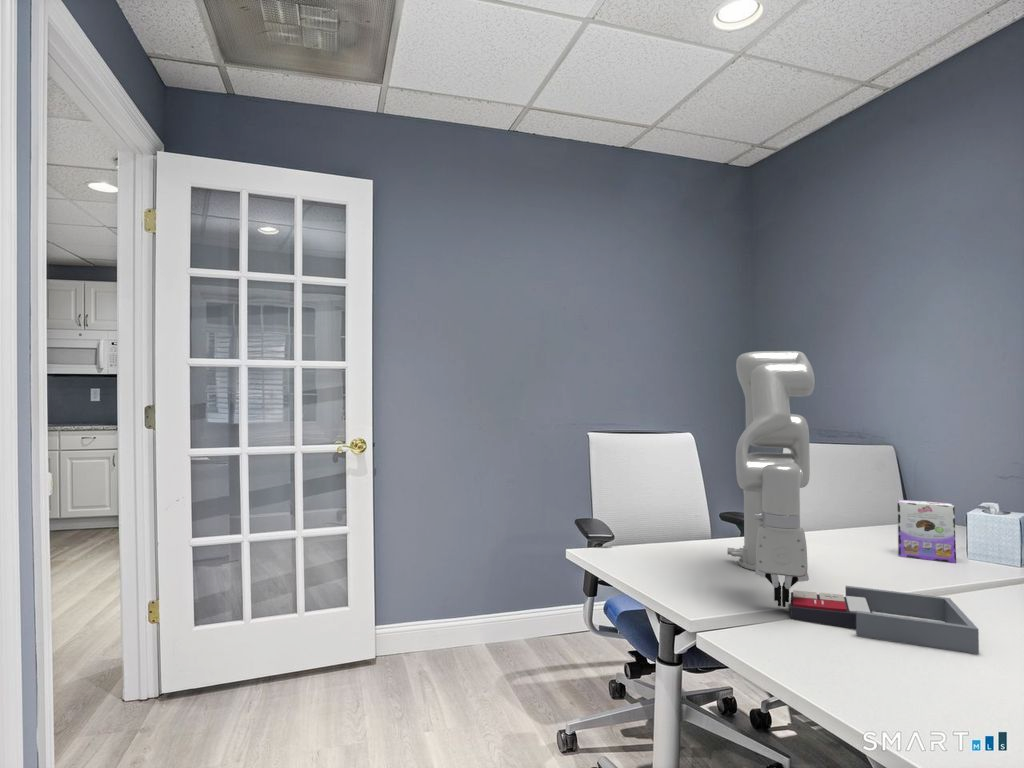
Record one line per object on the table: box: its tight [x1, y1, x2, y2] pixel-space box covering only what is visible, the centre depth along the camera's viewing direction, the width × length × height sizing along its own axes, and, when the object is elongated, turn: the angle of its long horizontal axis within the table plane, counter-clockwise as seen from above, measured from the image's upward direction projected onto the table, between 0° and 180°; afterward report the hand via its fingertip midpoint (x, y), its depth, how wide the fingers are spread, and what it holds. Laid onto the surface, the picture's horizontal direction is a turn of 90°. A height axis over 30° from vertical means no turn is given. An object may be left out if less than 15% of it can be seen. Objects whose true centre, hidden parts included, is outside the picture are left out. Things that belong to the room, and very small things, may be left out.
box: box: [844, 585, 980, 655], centre depth 117 cm, size 19×18×4 cm
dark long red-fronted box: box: [789, 590, 873, 630], centre depth 123 cm, size 11×4×15 cm
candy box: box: [896, 499, 957, 564], centre depth 170 cm, size 14×6×16 cm, turn 58°
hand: (781, 604), depth 126 cm, fingers closed
